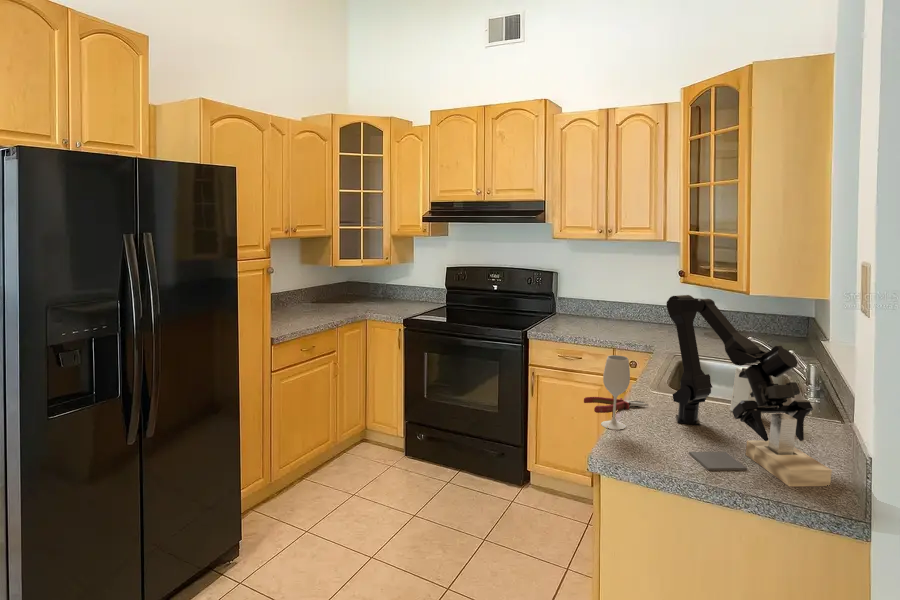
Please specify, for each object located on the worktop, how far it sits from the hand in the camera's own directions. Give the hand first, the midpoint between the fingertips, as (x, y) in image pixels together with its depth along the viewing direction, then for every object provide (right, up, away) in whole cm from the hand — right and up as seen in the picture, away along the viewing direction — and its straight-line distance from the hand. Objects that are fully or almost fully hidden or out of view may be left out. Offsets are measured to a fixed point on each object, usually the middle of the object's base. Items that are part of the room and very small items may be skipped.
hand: (784, 440), depth 144 cm
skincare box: (+11, -2, +40) cm, 42 cm away
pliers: (-30, -1, +44) cm, 53 cm away
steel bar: (0, -7, +2) cm, 7 cm away
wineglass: (-35, -2, +28) cm, 45 cm away
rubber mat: (-15, -6, +3) cm, 17 cm away
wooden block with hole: (0, -7, -1) cm, 7 cm away
